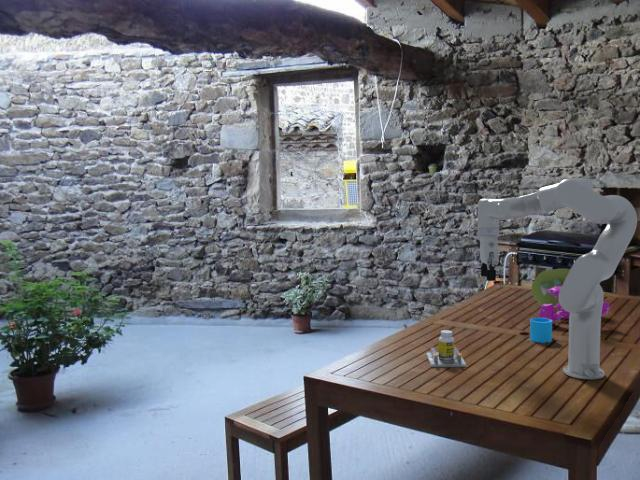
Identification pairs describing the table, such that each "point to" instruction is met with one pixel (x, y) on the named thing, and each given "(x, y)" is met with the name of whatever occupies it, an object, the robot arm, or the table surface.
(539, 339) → the mug
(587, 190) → the robot arm
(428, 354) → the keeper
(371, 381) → the table surface
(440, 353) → the supplement bottle
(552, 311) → the tree
